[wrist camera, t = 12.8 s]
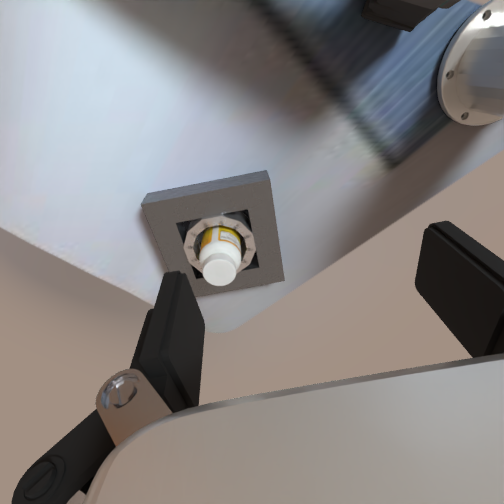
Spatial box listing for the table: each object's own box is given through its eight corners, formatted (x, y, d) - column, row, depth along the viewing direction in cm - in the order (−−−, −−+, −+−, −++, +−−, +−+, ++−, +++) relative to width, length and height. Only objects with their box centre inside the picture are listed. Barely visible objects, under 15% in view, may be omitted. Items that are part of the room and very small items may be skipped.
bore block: (266, 170, 38) (270, 180, 34) (280, 267, 47) (285, 282, 43) (147, 193, 38) (139, 206, 35) (183, 284, 47) (180, 301, 44)
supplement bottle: (235, 213, 41) (237, 250, 33) (243, 244, 44) (246, 285, 36) (198, 221, 41) (190, 259, 33) (208, 252, 44) (204, 294, 36)
